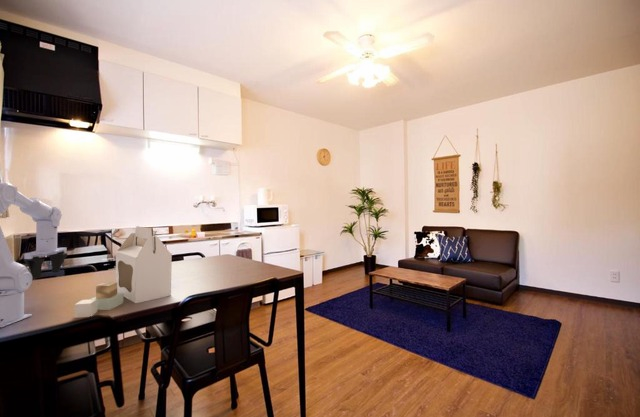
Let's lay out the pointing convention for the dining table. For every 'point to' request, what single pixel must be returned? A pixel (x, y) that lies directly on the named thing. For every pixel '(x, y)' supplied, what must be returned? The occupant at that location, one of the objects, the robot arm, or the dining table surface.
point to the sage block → (109, 302)
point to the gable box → (143, 267)
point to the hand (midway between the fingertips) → (46, 274)
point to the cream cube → (86, 308)
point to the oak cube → (106, 290)
